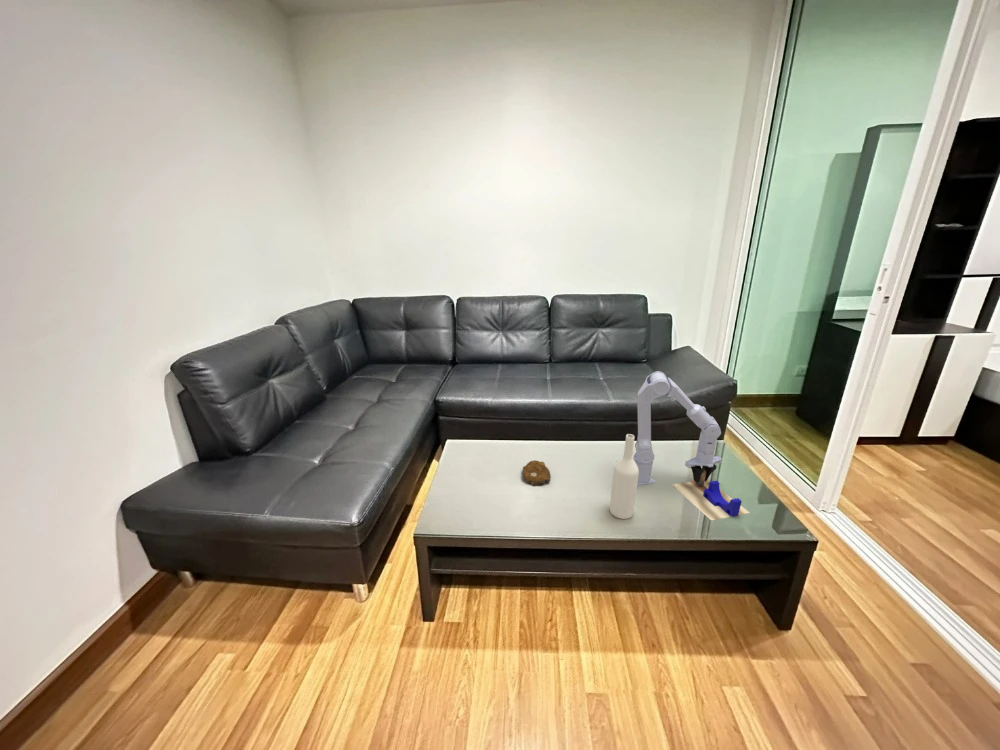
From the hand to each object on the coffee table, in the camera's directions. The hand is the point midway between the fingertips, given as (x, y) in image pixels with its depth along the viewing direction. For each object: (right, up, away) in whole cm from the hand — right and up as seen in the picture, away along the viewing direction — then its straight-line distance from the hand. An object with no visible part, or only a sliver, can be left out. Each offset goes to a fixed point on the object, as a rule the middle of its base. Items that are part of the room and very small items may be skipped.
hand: (699, 480), depth 151 cm
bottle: (-34, -8, -13) cm, 38 cm away
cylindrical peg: (0, -1, 0) cm, 1 cm away
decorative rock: (-63, 0, +8) cm, 63 cm away
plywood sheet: (0, -5, -7) cm, 8 cm away
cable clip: (+2, -6, -10) cm, 12 cm away
